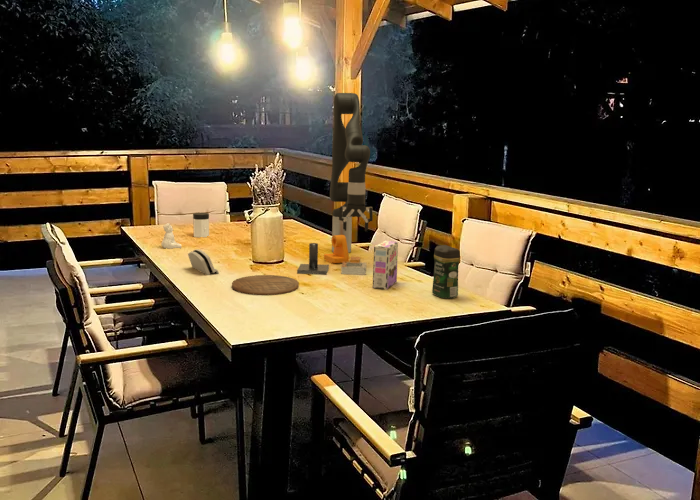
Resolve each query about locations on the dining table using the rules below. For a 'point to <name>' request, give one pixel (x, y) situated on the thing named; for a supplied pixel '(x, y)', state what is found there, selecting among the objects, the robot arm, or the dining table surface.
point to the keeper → (313, 263)
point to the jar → (201, 224)
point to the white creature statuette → (169, 238)
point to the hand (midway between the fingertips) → (355, 230)
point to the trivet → (265, 285)
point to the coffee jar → (446, 271)
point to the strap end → (354, 267)
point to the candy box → (385, 264)
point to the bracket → (338, 250)
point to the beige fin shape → (201, 262)
